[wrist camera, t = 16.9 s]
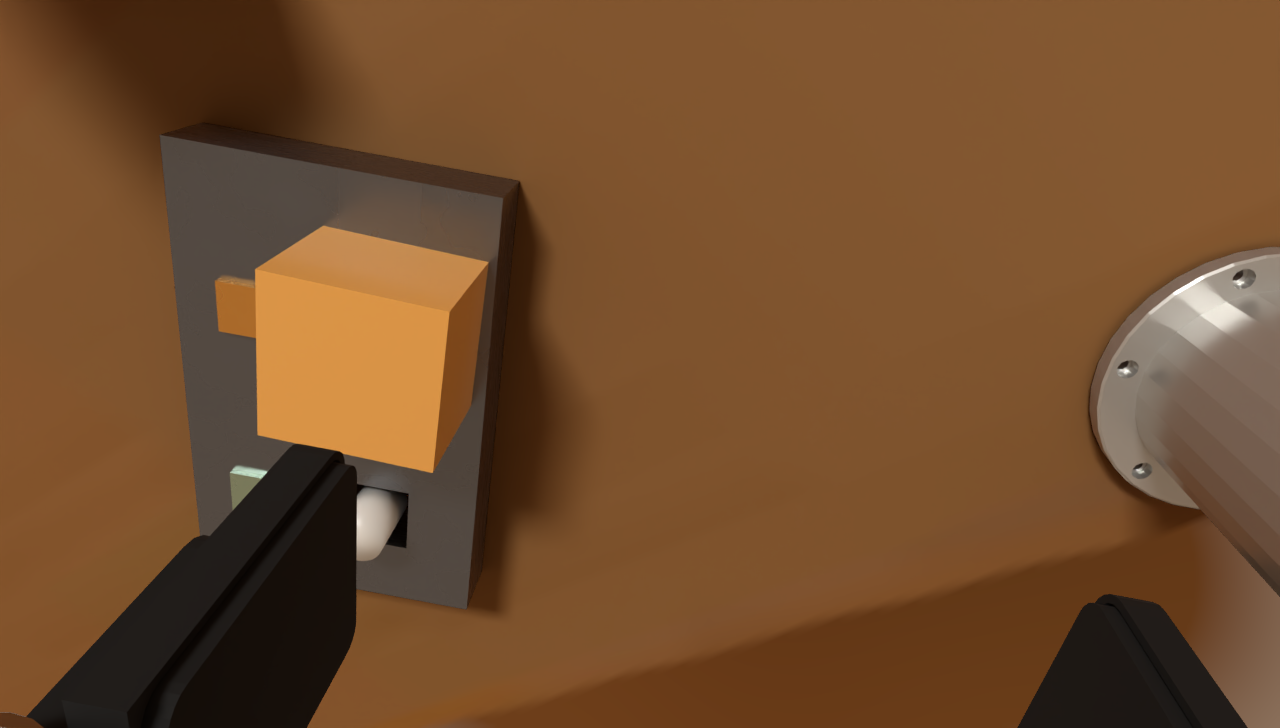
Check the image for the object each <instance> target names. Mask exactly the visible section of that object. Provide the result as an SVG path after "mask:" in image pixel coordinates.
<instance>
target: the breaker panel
mask: <svg viewBox="0 0 1280 728" xmlns="http://www.w3.org/2000/svg"><path fill="white" fill-rule="evenodd" d="M160 144H161V154H162V164H163V173H164V183H165V193H166V203H167V213H168V223H169V232H170V242H171V252H172V262H173V272H174V282H175V292H176V301H177V311H178V321H179V331H180V341H181V351H182V361H183V370H184V380H185V390H186V400H187V410H188V420H189V430H190V439H191V449H192V459H193V469H194V479H195V489H196V499H197V508H198V518H199V528H200V536H202V535H207V536H210V535H211V534H212V533H213V532H214V531H215V530H216V529H217V527H218V526H219V525H220V524H221V523H222V522H223V521H224V520H225V519H226V517H227V516H228V515H229V514H230V513H231V512H232V511H233V510H234V509H235V507H236V506H237V505H238V504H239V503H240V502H241V501H242V500H243V499H244V497H245V496H246V495H247V494H248V493H249V492H250V491H251V490H252V489H253V487H254V486H255V485H256V484H257V483H258V482H259V481H260V480H261V479H262V477H263V476H264V475H265V474H266V473H267V472H268V471H269V470H270V469H271V467H272V466H273V465H274V464H275V463H276V462H277V461H278V460H279V459H280V457H281V456H282V455H283V454H284V453H285V452H286V451H287V450H288V449H289V448H290V447H291V446H292V445H293V444H296V443H292V442H287V441H282V440H278V439H273V438H269V437H264V436H259V435H258V431H257V363H256V295H255V269H256V268H258V267H259V266H261V265H262V264H264V263H266V262H267V261H269V260H270V259H272V258H273V257H275V256H277V255H278V254H280V253H281V252H283V251H284V250H286V249H288V248H289V247H291V246H292V245H294V244H295V243H297V242H298V241H300V240H302V239H303V238H305V237H306V236H308V235H309V234H311V233H313V232H314V231H316V230H317V229H319V228H320V227H322V226H327V227H331V228H336V229H341V230H345V231H350V232H354V233H359V234H363V235H368V236H372V237H377V238H381V239H386V240H390V241H395V242H400V243H404V244H409V245H413V246H418V247H422V248H427V249H431V250H436V251H440V252H445V253H449V254H454V255H459V256H463V257H468V258H472V259H477V260H481V261H486V262H489V264H488V272H487V280H486V288H485V296H484V304H483V312H482V321H481V329H480V337H479V345H478V353H477V361H476V369H475V377H474V386H473V394H472V402H471V407H470V408H469V410H468V412H467V414H466V416H465V417H464V419H463V421H462V423H461V424H460V426H459V428H458V430H457V431H456V433H455V435H454V437H453V438H452V440H451V442H450V444H449V446H448V447H447V449H446V451H445V453H444V454H443V456H442V458H441V460H440V461H439V463H438V465H437V467H436V468H435V470H434V472H433V473H430V472H425V471H421V470H416V469H412V468H407V467H402V466H398V465H393V464H389V463H384V462H379V461H375V460H370V459H365V458H361V457H356V456H352V455H347V454H343V456H344V459H345V464H348V465H353V466H355V468H356V470H357V495H358V494H359V492H360V491H361V489H362V488H363V486H364V485H366V486H371V487H376V488H382V489H387V490H393V491H398V492H403V493H409V500H408V509H405V511H404V513H403V515H402V516H401V518H400V520H399V522H398V523H397V525H396V527H395V529H394V530H393V532H392V534H391V535H390V537H389V539H388V541H387V542H386V544H385V546H384V548H383V549H382V551H381V553H380V554H379V555H378V556H377V557H376V558H374V559H372V560H368V561H358V560H357V564H356V589H359V590H365V591H370V592H375V593H381V594H386V595H392V596H397V597H402V598H408V599H413V600H418V601H424V602H429V603H435V604H440V605H445V606H451V607H456V608H461V609H467V607H468V605H469V602H470V599H471V597H472V594H473V592H474V589H475V587H476V584H477V582H478V579H479V577H480V574H481V571H482V562H483V551H484V541H485V531H486V520H487V510H488V500H489V490H490V479H491V469H492V459H493V448H494V438H495V428H496V417H497V407H498V397H499V386H500V376H501V366H502V355H503V345H504V335H505V324H506V314H507V304H508V293H509V283H510V273H511V262H512V252H513V242H514V232H515V221H516V211H517V201H518V190H519V181H517V180H512V179H506V178H501V177H495V176H490V175H484V174H479V173H474V172H468V171H463V170H457V169H452V168H446V167H441V166H436V165H430V164H425V163H419V162H414V161H408V160H403V159H398V158H392V157H387V156H381V155H376V154H370V153H365V152H359V151H354V150H349V149H343V148H338V147H332V146H327V145H321V144H316V143H311V142H305V141H300V140H294V139H289V138H283V137H278V136H273V135H267V134H262V133H256V132H251V131H245V130H240V129H235V128H229V127H224V126H218V125H213V124H207V123H199V124H196V125H192V126H189V127H185V128H182V129H178V130H175V131H171V132H168V133H164V134H161V135H160Z"/></svg>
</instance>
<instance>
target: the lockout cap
mask: <svg viewBox="0 0 1280 728" xmlns="http://www.w3.org/2000/svg"><path fill="white" fill-rule="evenodd" d="M488 264H489V262H486V261H481V260H477V259H472V258H468V257H463V256H459V255H454V254H449V253H445V252H440V251H436V250H431V249H427V248H422V247H418V246H413V245H409V244H404V243H400V242H395V241H390V240H386V239H381V238H377V237H372V236H368V235H363V234H359V233H354V232H350V231H345V230H341V229H336V228H331V227H327V226H322V227H320V228H319V229H317V230H316V231H314V232H313V233H311V234H309V235H308V236H306V237H305V238H303V239H302V240H300V241H298V242H297V243H295V244H294V245H292V246H291V247H289V248H288V249H286V250H284V251H283V252H281V253H280V254H278V255H277V256H275V257H273V258H272V259H270V260H269V261H267V262H266V263H264V264H262V265H261V266H259V267H258V268H256V269H255V295H256V363H257V431H258V435H259V436H264V437H269V438H273V439H278V440H282V441H287V442H292V443H296V444H303V445H309V446H314V447H319V448H325V449H330V450H336V451H340V452H341V453H343V454H347V455H352V456H356V457H361V458H365V459H370V460H375V461H379V462H384V463H389V464H393V465H398V466H402V467H407V468H412V469H416V470H421V471H425V472H430V473H433V472H434V470H435V468H436V467H437V465H438V463H439V461H440V460H441V458H442V456H443V454H444V453H445V451H446V449H447V447H448V446H449V444H450V442H451V440H452V438H453V437H454V435H455V433H456V431H457V430H458V428H459V426H460V424H461V423H462V421H463V419H464V417H465V416H466V414H467V412H468V410H469V408H470V407H471V402H472V394H473V386H474V377H475V369H476V361H477V353H478V345H479V337H480V329H481V321H482V312H483V304H484V296H485V288H486V280H487V272H488Z"/></svg>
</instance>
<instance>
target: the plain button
mask: <svg viewBox="0 0 1280 728" xmlns="http://www.w3.org/2000/svg"><path fill="white" fill-rule="evenodd" d="M406 507H407V497H406V494H405V493H403V492H398V491H393V490H387V489H382V488H376V487H371V486H366V485H364V486H363V488H362V489H361V491H360V492H359V494H358V495H357V560H358V561H368V560H372V559H374V558H376V557H377V556H378V555H379V554H380V553H381V551H382V549H383V548H384V546H385V544H386V542H387V541H388V539H389V537H390V535H391V534H392V532H393V530H394V529H395V527H396V525H397V523H398V522H399V520H400V518H401V516H402V515H403V513H404V511H405V509H406Z"/></svg>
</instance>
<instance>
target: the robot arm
mask: <svg viewBox="0 0 1280 728" xmlns="http://www.w3.org/2000/svg"><path fill="white" fill-rule="evenodd" d="M1089 411H1090V417H1091V423H1092V429H1093V433H1094V435H1095V437H1096V439H1097V442H1098V444H1099V446H1100V448H1101V451H1102V452H1103V453H1104V455H1105V456H1106V457H1107V459H1108V460H1109V461H1110V463H1111V464H1112V465H1113V467H1114V468H1115V469H1116V470H1117V471H1118V472H1119V473H1120V474H1121V476H1122V477H1123V478H1124V479H1125V480H1126V481H1127V482H1129V483H1130V484H1131V485H1133V486H1134V487H1136V488H1138V489H1139V490H1141V491H1142V492H1144V493H1146V494H1147V495H1149V496H1151V497H1153V498H1156V499H1159V500H1161V501H1164V502H1167V503H1169V504H1172V505H1177V506H1183V507H1188V508H1193V509H1201V511H1202V512H1203V513H1204V514H1205V515H1206V516H1207V517H1208V518H1209V519H1210V520H1211V522H1212V523H1213V524H1214V525H1215V526H1216V527H1217V528H1218V529H1219V530H1220V531H1221V533H1222V534H1223V535H1224V536H1225V537H1226V538H1227V539H1228V540H1229V541H1230V542H1231V544H1232V545H1233V546H1234V547H1235V548H1236V549H1237V550H1238V551H1239V552H1240V554H1241V555H1242V556H1243V557H1244V558H1245V559H1246V560H1247V561H1248V562H1249V563H1250V564H1251V566H1252V567H1253V568H1254V569H1255V570H1256V571H1257V572H1258V573H1259V574H1260V576H1261V577H1262V578H1263V579H1264V580H1265V581H1266V582H1267V583H1268V584H1269V585H1270V586H1271V588H1272V589H1273V590H1274V591H1275V592H1276V593H1277V594H1278V595H1279V596H1280V247H1267V248H1261V249H1255V250H1249V251H1243V252H1238V253H1235V254H1232V255H1228V256H1225V257H1222V258H1219V259H1216V260H1213V261H1210V262H1207V263H1205V264H1203V265H1201V266H1199V267H1197V268H1195V269H1193V270H1191V271H1189V272H1187V273H1185V274H1183V275H1181V276H1179V277H1177V278H1175V279H1174V280H1172V281H1171V282H1170V283H1168V284H1167V285H1165V286H1164V287H1162V288H1161V289H1159V290H1158V291H1157V292H1155V293H1154V294H1152V295H1151V296H1150V297H1149V298H1148V299H1146V300H1145V301H1144V302H1143V303H1142V304H1141V305H1140V306H1139V307H1138V308H1137V309H1136V310H1135V311H1134V312H1133V313H1132V314H1131V315H1129V316H1128V318H1127V319H1126V320H1125V321H1124V323H1123V324H1122V325H1121V327H1120V328H1119V329H1118V331H1117V332H1116V333H1115V334H1114V336H1113V337H1112V338H1111V340H1110V342H1109V343H1108V345H1107V347H1106V349H1105V351H1104V353H1103V355H1102V357H1101V359H1100V361H1099V362H1098V365H1097V369H1096V372H1095V375H1094V379H1093V382H1092V385H1091V394H1090V408H1089ZM356 564H357V470H356V468H355V466H353V465H348V464H345V459H344V456H343V453H341V452H340V451H336V450H330V449H325V448H319V447H314V446H309V445H303V444H293V445H292V446H291V447H290V448H289V449H288V450H287V451H286V452H285V453H284V454H283V455H282V456H281V457H280V459H279V460H278V461H277V462H276V463H275V464H274V465H273V466H272V467H271V469H270V470H269V471H268V472H267V473H266V474H265V475H264V476H263V477H262V479H261V480H260V481H259V482H258V483H257V484H256V485H255V486H254V487H253V489H252V490H251V491H250V492H249V493H248V494H247V495H246V496H245V497H244V499H243V500H242V501H241V502H240V503H239V504H238V505H237V506H236V507H235V509H234V510H233V511H232V512H231V513H230V514H229V515H228V516H227V517H226V519H225V520H224V521H223V522H222V523H221V524H220V525H219V526H218V527H217V529H216V530H215V531H214V532H213V533H212V534H211V535H210V536H207V535H202V536H199V537H196V538H194V539H193V540H191V541H190V542H189V543H188V544H187V545H186V546H184V547H183V548H182V550H181V551H180V552H179V553H178V554H177V555H176V556H175V557H174V558H173V559H172V560H171V561H170V562H169V564H168V565H167V566H166V567H165V568H164V569H163V570H162V571H161V572H160V573H159V574H158V575H157V576H156V578H155V579H154V580H153V581H152V582H151V583H150V584H149V585H148V586H147V587H146V588H145V589H144V590H143V592H142V593H141V594H140V595H139V596H138V597H137V598H136V599H135V600H134V601H133V602H132V603H131V604H130V606H129V607H128V608H127V609H126V610H125V611H124V612H123V613H122V614H121V615H120V616H119V617H118V618H117V620H116V621H115V622H114V623H113V624H112V625H111V626H110V627H109V628H108V629H107V630H106V631H105V632H104V634H103V635H102V636H101V637H100V638H99V639H98V640H97V641H96V642H95V643H94V644H93V645H92V646H91V648H90V649H89V650H88V651H87V652H86V653H85V654H84V655H83V656H82V657H81V658H80V659H79V660H78V661H77V663H76V664H75V665H74V666H73V667H72V668H71V669H70V670H69V671H68V672H67V673H66V674H65V675H64V677H63V678H62V679H61V680H60V681H59V682H58V683H57V684H56V685H55V686H54V687H53V688H52V689H51V691H50V692H49V693H48V694H47V695H46V696H45V697H44V698H43V699H42V700H41V701H40V702H39V703H38V705H37V706H36V707H35V708H34V709H33V710H32V711H31V712H30V713H29V714H28V715H27V716H26V717H24V716H21V715H17V714H14V713H0V728H307V726H308V724H309V722H310V721H311V719H312V717H313V715H314V713H315V711H316V710H317V708H318V706H319V704H320V702H321V700H322V698H323V697H324V695H325V693H326V691H327V689H328V687H329V686H330V684H331V682H332V680H333V678H334V676H335V675H336V673H337V671H338V669H339V667H340V665H341V663H342V662H343V660H344V658H345V656H346V654H347V652H348V650H349V648H350V645H351V643H352V640H353V636H354V632H355V627H356ZM1018 728H1247V726H1246V725H1245V723H1244V722H1243V720H1242V719H1241V718H1240V716H1239V715H1238V713H1237V712H1236V711H1235V710H1234V708H1233V707H1232V705H1231V704H1230V702H1229V701H1228V699H1227V698H1226V696H1225V695H1224V694H1223V692H1222V691H1221V690H1220V688H1219V687H1218V685H1217V684H1216V683H1215V681H1214V680H1213V678H1212V677H1211V675H1210V674H1209V673H1208V671H1207V670H1206V668H1205V667H1204V665H1203V664H1202V663H1201V661H1200V660H1199V658H1198V657H1197V656H1196V654H1195V653H1194V651H1193V650H1192V648H1191V647H1190V646H1189V644H1188V643H1187V641H1186V640H1185V639H1184V637H1183V636H1182V634H1181V633H1180V632H1179V630H1178V629H1177V627H1176V626H1175V624H1174V623H1173V622H1172V620H1171V619H1170V618H1169V616H1168V615H1167V613H1166V612H1165V611H1164V610H1163V609H1162V608H1161V606H1160V605H1158V604H1156V603H1153V602H1149V601H1144V600H1138V599H1133V598H1128V597H1123V596H1117V595H1112V594H1108V595H1103V596H1102V597H1100V598H1098V600H1097V601H1096V602H1095V603H1088V604H1087V605H1085V606H1084V607H1083V608H1082V610H1081V611H1080V613H1079V615H1078V617H1077V619H1076V620H1075V622H1074V624H1073V626H1072V628H1071V630H1070V632H1069V633H1068V635H1067V637H1066V639H1065V641H1064V643H1063V645H1062V647H1061V648H1060V650H1059V652H1058V654H1057V656H1056V657H1055V660H1054V661H1053V663H1052V665H1051V667H1050V669H1049V670H1048V672H1047V674H1046V676H1045V678H1044V680H1043V682H1042V683H1041V685H1040V687H1039V689H1038V691H1037V693H1036V694H1035V696H1034V698H1033V700H1032V702H1031V704H1030V706H1029V707H1028V709H1027V711H1026V713H1025V715H1024V717H1023V719H1022V720H1021V723H1020V724H1019V726H1018Z"/></svg>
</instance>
